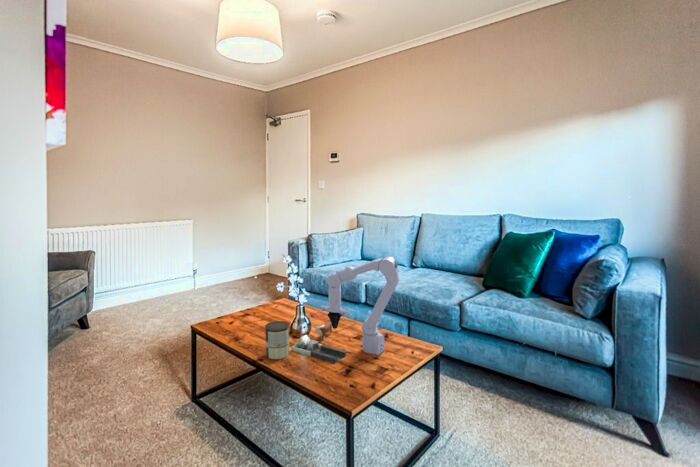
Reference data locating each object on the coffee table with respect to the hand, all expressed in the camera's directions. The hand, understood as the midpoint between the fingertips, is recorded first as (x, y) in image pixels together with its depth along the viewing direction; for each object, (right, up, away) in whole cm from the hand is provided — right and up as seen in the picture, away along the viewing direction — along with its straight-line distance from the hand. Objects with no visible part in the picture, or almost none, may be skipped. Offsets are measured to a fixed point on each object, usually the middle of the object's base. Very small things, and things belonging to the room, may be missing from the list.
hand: (335, 327), depth 170 cm
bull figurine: (-6, -8, +11) cm, 15 cm away
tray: (-13, -10, -2) cm, 16 cm away
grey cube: (-10, -9, -3) cm, 14 cm away
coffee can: (-25, -11, -7) cm, 28 cm away
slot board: (-3, -11, -9) cm, 14 cm away
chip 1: (-15, -8, 0) cm, 17 cm away
